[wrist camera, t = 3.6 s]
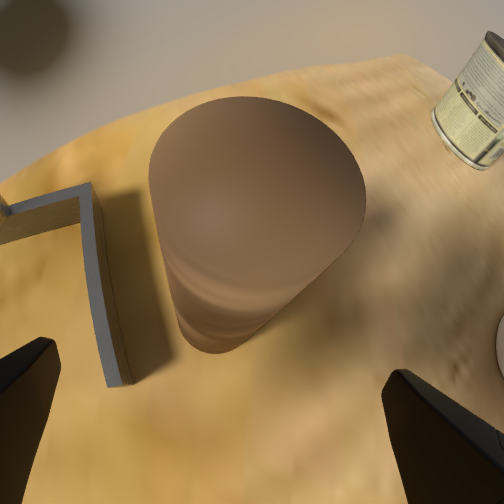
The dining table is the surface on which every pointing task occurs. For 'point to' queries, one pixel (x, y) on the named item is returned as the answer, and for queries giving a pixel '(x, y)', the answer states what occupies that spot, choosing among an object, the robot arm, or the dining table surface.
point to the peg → (249, 212)
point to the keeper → (95, 260)
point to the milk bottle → (500, 345)
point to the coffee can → (475, 107)
